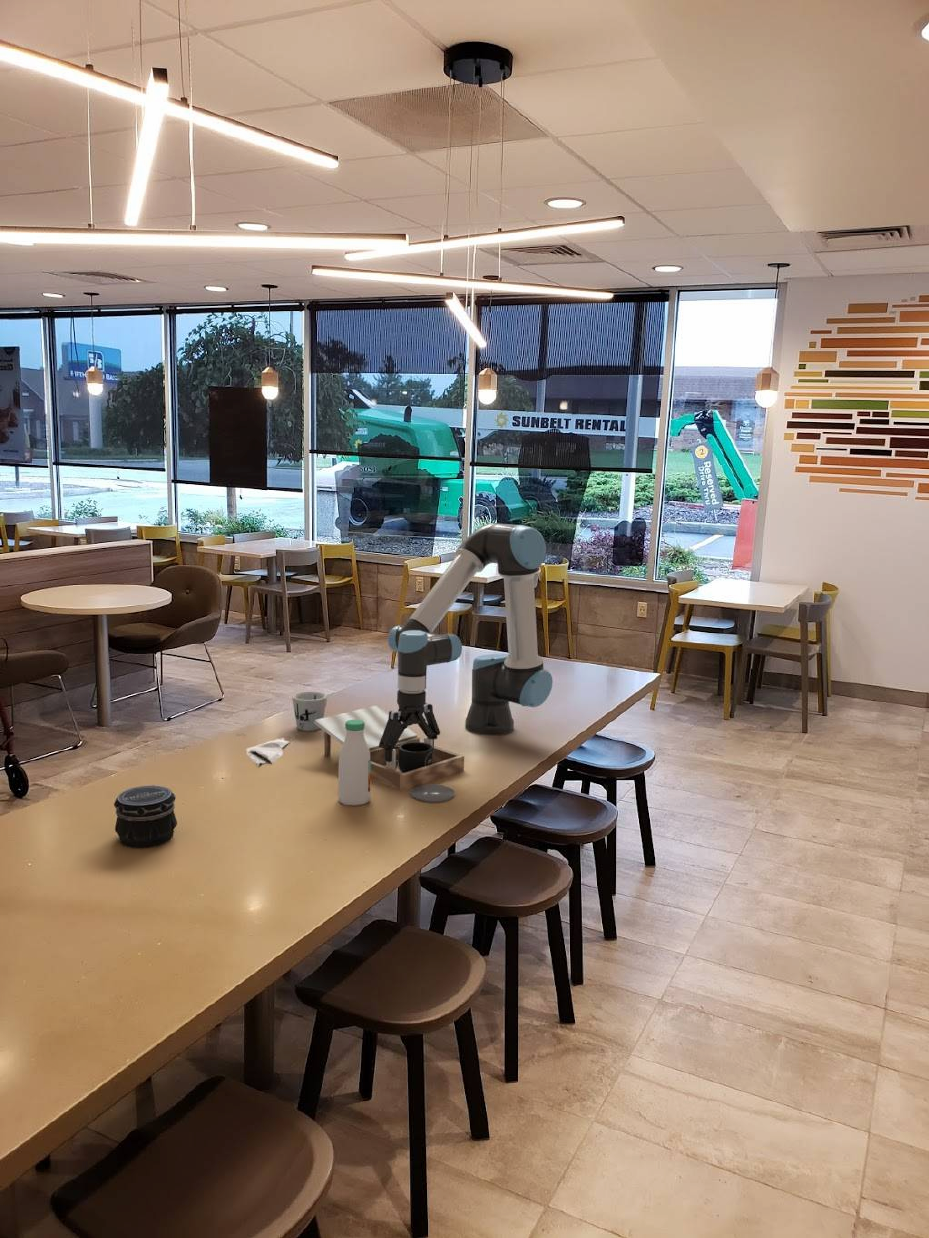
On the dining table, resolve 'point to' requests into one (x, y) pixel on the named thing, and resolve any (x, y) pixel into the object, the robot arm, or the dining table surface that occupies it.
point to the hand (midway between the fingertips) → (409, 767)
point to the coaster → (432, 793)
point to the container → (145, 816)
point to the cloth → (267, 751)
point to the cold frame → (373, 733)
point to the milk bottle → (354, 766)
